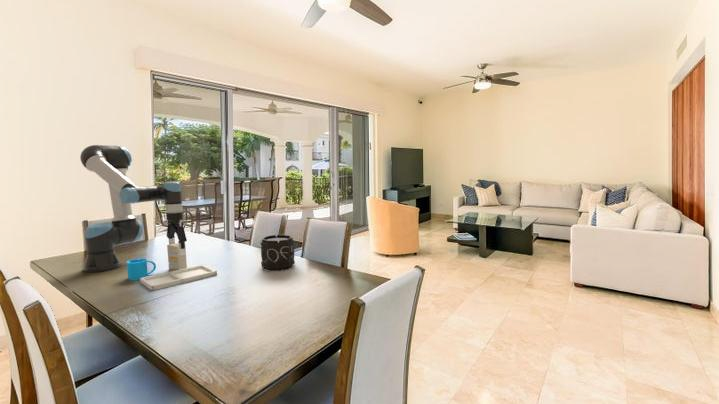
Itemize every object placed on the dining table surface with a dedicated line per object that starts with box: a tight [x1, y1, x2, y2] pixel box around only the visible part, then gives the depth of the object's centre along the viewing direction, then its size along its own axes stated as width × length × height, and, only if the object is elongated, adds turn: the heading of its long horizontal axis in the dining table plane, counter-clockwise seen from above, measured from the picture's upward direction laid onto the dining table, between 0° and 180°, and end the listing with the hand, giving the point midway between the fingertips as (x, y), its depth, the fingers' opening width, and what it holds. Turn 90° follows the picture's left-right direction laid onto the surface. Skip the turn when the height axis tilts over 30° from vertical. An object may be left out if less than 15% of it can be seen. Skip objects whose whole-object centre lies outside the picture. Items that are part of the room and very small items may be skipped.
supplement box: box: [166, 242, 188, 271], centre depth 181 cm, size 8×5×13 cm, turn 65°
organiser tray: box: [139, 264, 218, 292], centre depth 168 cm, size 16×29×2 cm, turn 137°
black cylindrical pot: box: [260, 234, 296, 272], centre depth 185 cm, size 18×18×16 cm
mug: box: [126, 258, 157, 281], centre depth 171 cm, size 12×8×8 cm
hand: (177, 252), depth 181 cm, fingers open, 13 cm apart
